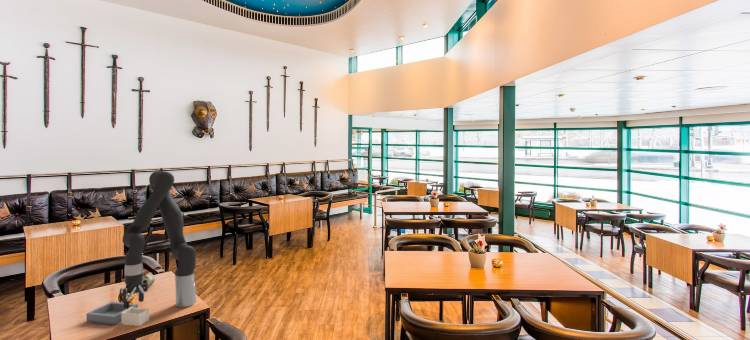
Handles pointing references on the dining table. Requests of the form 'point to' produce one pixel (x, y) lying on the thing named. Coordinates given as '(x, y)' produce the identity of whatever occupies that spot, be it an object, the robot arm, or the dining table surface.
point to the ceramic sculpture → (148, 279)
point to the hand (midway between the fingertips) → (134, 304)
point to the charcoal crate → (108, 313)
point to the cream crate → (135, 316)
